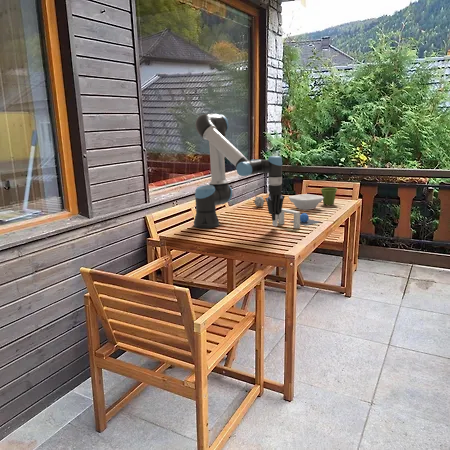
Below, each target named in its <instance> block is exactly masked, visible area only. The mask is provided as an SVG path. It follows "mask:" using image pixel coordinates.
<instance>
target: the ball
mask: <svg viewBox="0 0 450 450" xmlns="http://www.w3.org/2000/svg"><path fill="white" fill-rule="evenodd" d="M309 217H310V216H309V214H307V213H305V212H304V213H300V221H301V222H307V221H308V219H310V218H309Z"/></svg>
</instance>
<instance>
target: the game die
mask: <svg viewBox="0 0 450 450" xmlns="http://www.w3.org/2000/svg"><path fill="white" fill-rule="evenodd" d="M265 202H266V200H265V198H264V195H261V196H257V195H255V199H254V200H253V203H254V204H255V207H256V208H258V207H264V204H265Z"/></svg>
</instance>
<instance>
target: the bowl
mask: <svg viewBox="0 0 450 450" xmlns="http://www.w3.org/2000/svg"><path fill="white" fill-rule="evenodd" d="M323 198H324V197H322V195H317V194H310V193H302V194H295V195H289V196H288V200H290V202H291V203H293V204H294V207H295V208H297V209H298V210H304V211H308V210H313V209H316V208H317V206H318V205H319V204H320V203H322V201H323Z"/></svg>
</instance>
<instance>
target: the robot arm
mask: <svg viewBox="0 0 450 450" xmlns="http://www.w3.org/2000/svg"><path fill="white" fill-rule="evenodd" d="M194 126H195V129H196V131H197V133H198V134H199V136H200V137H202V139H203V140H207V141H208V144H209V145H208V146H209V158H210V174H211V175H210V176H211V180H210V182H209V183H208V184H205V185H200V186H198V187H196V188H195V190H194V192H195V193H194V196H195V197H194V198H195V217H194V220H193V227H195V228H197V229H211V228H217V227H219V226H220V221H219V217H218V215H217V209H216V207H217V206H221V205H225V204H226V203H228V202H230V200H232V197H233V189H232V187H231V186H230V185H229V181H228V180H227V179H226V178H227V177H226V167H225V166H226V165H225V163H226V162H225V158H226V159H227V160H228V161H229V162H230V163H231V164H232V165H234V167H235V171H236V172H237V174H238V175H239V176H241V177H247V176H251V175H257V174H267V175H268V176H267V177H268V178H267V179H268V183H267V184H268V187H267V189H268V197H265V198H264V200H265V202H266V204H267V211H268V214H269V215H271V221H272V227H278V225H279V224H278V215H279V214H280V213H281V211H282V208H283V204H284V200H285V198H286V196H285V195H283V194H282V191H283V185H282V184H283V157H281V155H271V156H270V155H269V156H268V158H267V159H258V158H254V159H250V160H249V159H248V158H247V157H246V156H245V155H244V154H243V153H242V152H241V151H240V150H239V149H238V148H237V147H235V145H234V144H232V143H231V142H230V141H229V140H228V139H227V138H226V133H227V132H228V130H229V128H230V127H229V120H228V118H227V117H226V116H225V115H224V114H221V113H203V114H201V115H198V117H197V118H196V120H195V125H194Z"/></svg>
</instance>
